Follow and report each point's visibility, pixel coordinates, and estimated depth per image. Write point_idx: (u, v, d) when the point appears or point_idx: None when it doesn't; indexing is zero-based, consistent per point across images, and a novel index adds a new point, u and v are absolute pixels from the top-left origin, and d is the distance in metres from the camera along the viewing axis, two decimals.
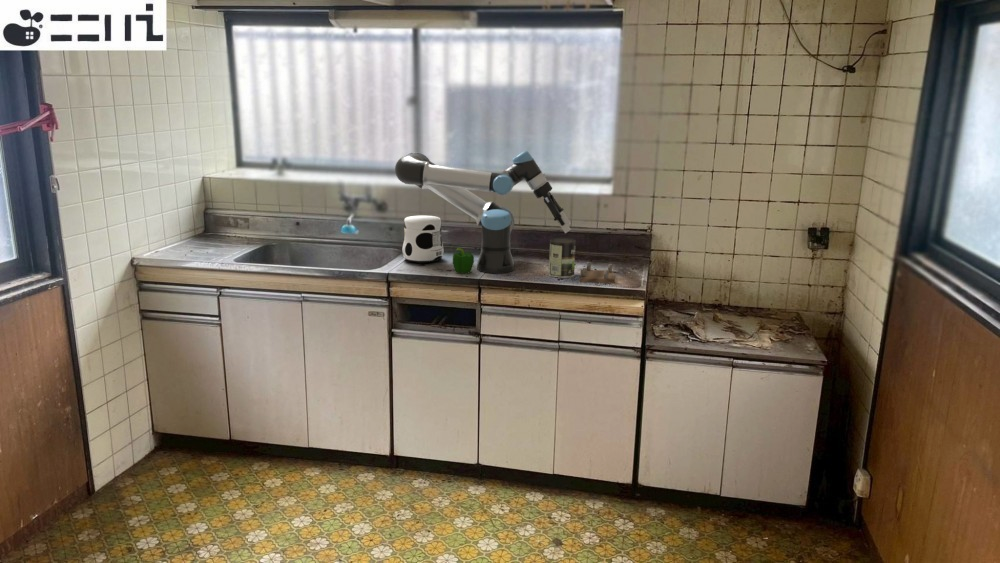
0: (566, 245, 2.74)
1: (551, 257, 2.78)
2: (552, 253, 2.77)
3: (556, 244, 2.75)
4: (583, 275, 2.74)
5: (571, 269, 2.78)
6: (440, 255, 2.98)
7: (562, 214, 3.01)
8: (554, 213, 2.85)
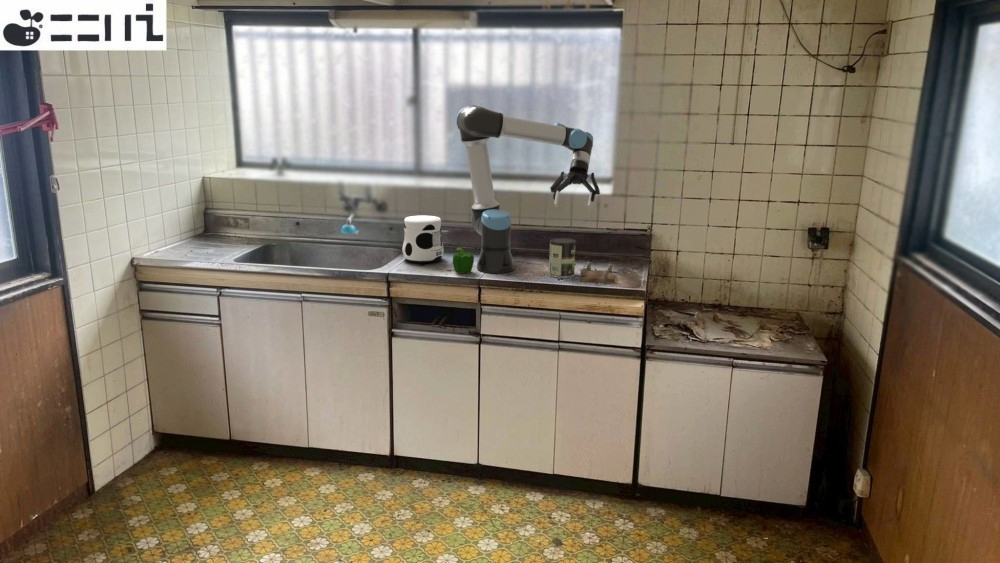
0: (566, 245, 2.74)
1: (551, 257, 2.78)
2: (552, 253, 2.77)
3: (556, 244, 2.75)
4: (583, 275, 2.74)
5: (571, 269, 2.78)
6: (440, 255, 2.98)
7: (558, 195, 2.90)
8: None
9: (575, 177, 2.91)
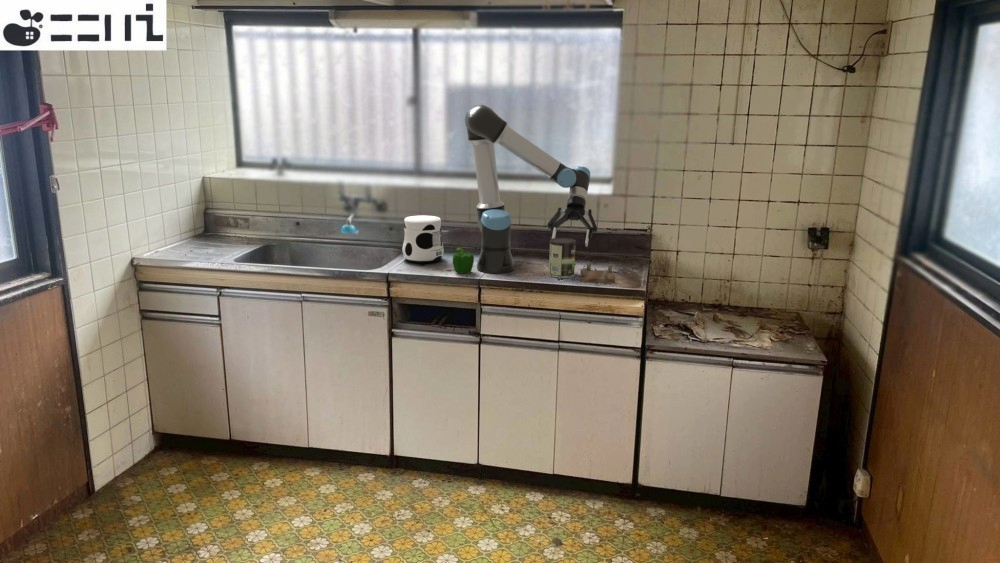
0: (566, 245, 2.74)
1: (551, 257, 2.78)
2: (552, 253, 2.77)
3: (556, 244, 2.75)
4: (583, 275, 2.74)
5: (571, 269, 2.78)
6: (440, 255, 2.98)
7: (555, 232, 2.89)
8: (595, 225, 2.86)
9: (572, 213, 2.89)
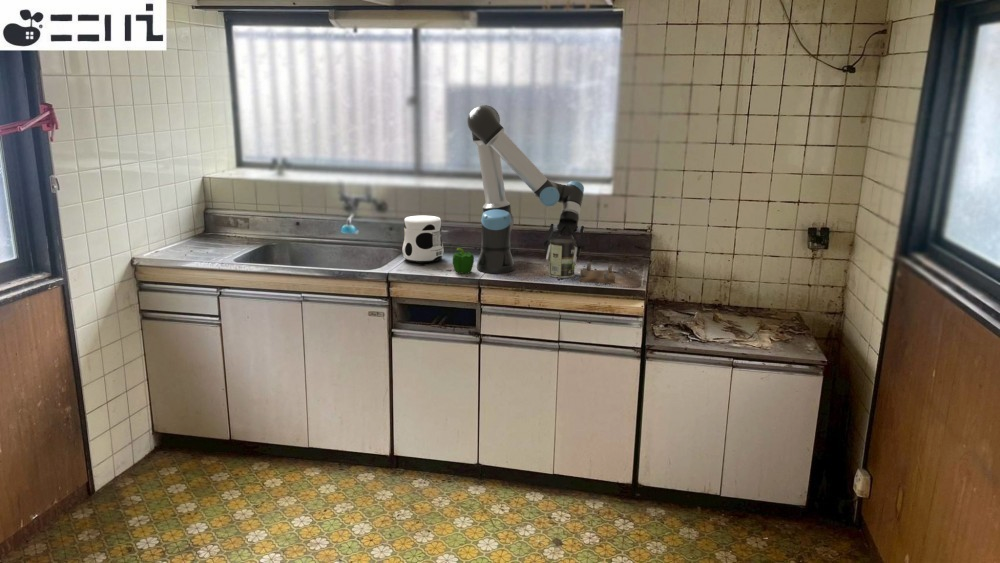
0: (566, 245, 2.74)
1: (551, 257, 2.78)
2: (552, 253, 2.77)
3: (556, 244, 2.75)
4: (583, 275, 2.74)
5: (571, 269, 2.78)
6: (440, 255, 2.98)
7: None
8: None
9: (565, 229, 2.84)
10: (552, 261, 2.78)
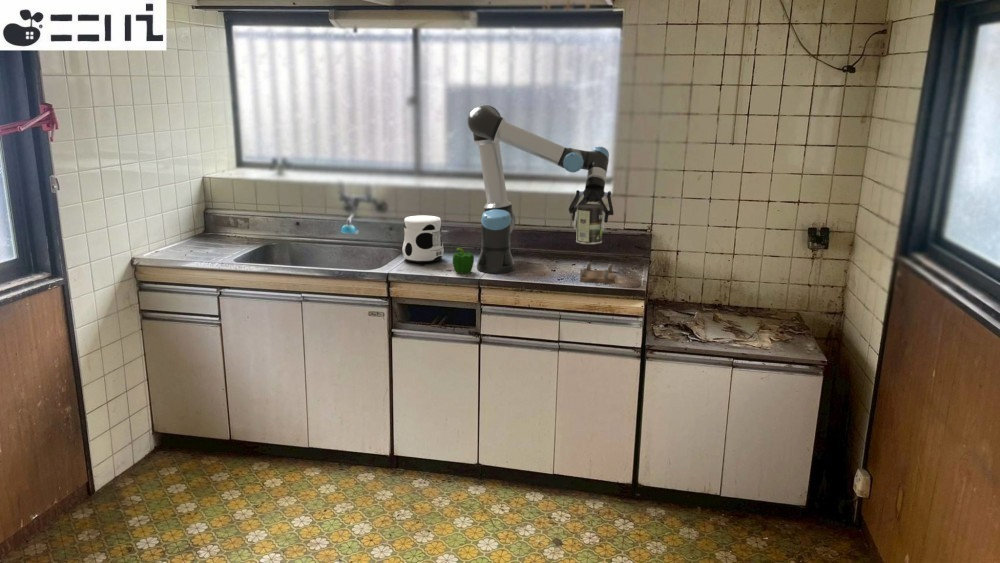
0: (594, 210, 2.68)
1: (578, 223, 2.72)
2: (579, 219, 2.71)
3: (583, 209, 2.69)
4: (583, 275, 2.74)
5: (599, 235, 2.72)
6: (440, 255, 2.98)
7: None
8: (612, 208, 2.74)
9: (591, 195, 2.78)
10: (579, 227, 2.72)
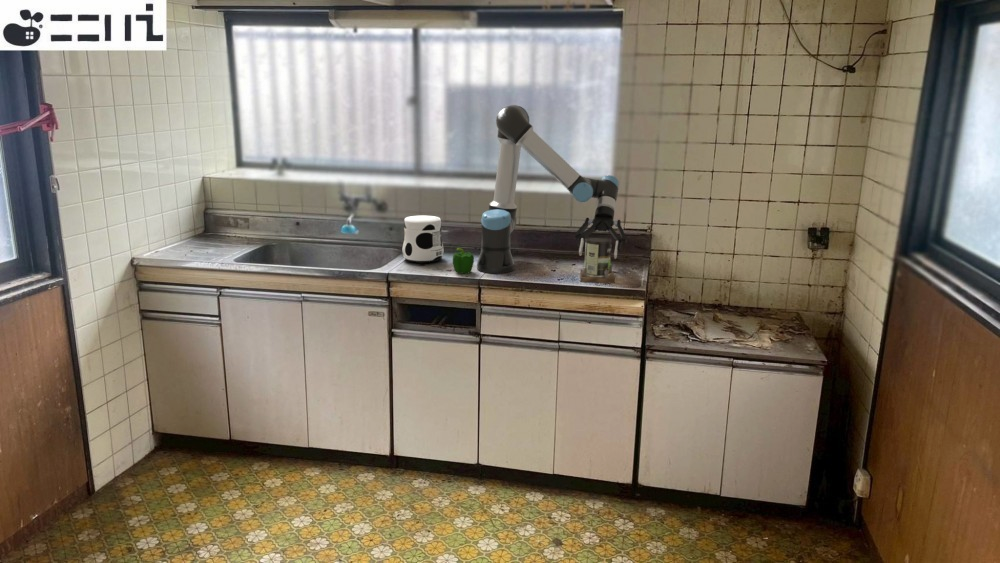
0: (603, 244, 2.70)
1: (587, 256, 2.74)
2: (588, 252, 2.73)
3: (592, 243, 2.71)
4: (583, 275, 2.74)
5: (607, 268, 2.74)
6: (440, 255, 2.98)
7: (583, 243, 2.79)
8: None
9: (600, 224, 2.80)
10: (588, 260, 2.74)
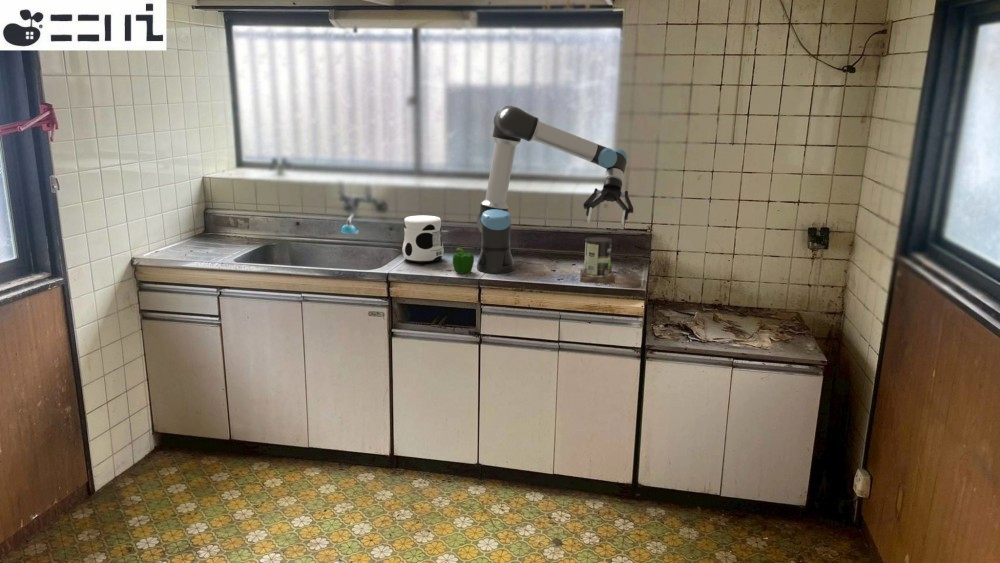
0: (603, 244, 2.70)
1: (587, 256, 2.74)
2: (588, 252, 2.73)
3: (592, 243, 2.71)
4: (583, 275, 2.74)
5: (607, 268, 2.74)
6: (440, 255, 2.98)
7: (591, 212, 2.89)
8: None
9: (609, 194, 2.90)
10: (588, 260, 2.74)
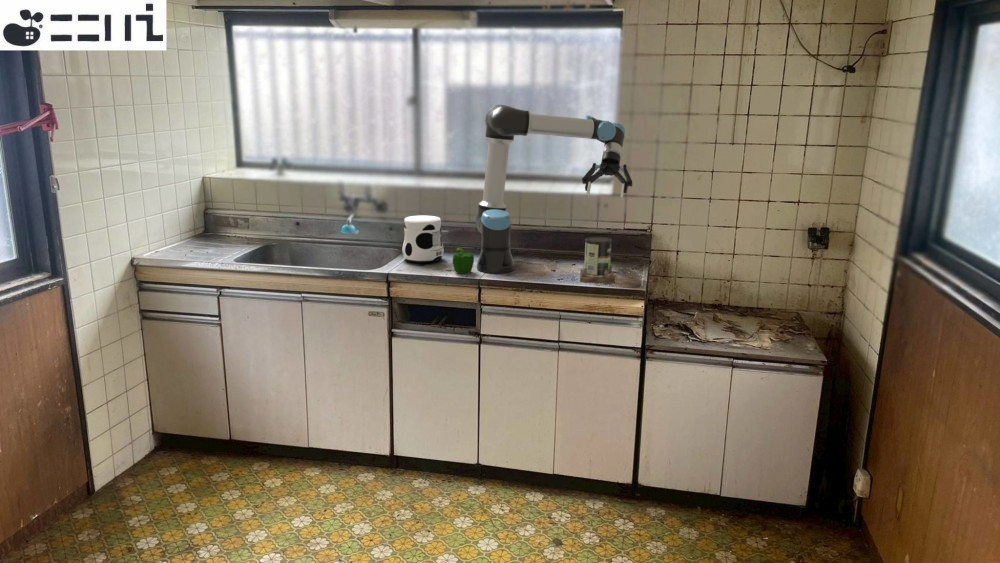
0: (603, 244, 2.70)
1: (587, 256, 2.74)
2: (588, 252, 2.73)
3: (592, 243, 2.71)
4: (583, 275, 2.74)
5: (607, 268, 2.74)
6: (440, 255, 2.98)
7: (590, 186, 2.88)
8: None
9: (607, 168, 2.89)
10: (588, 260, 2.74)
